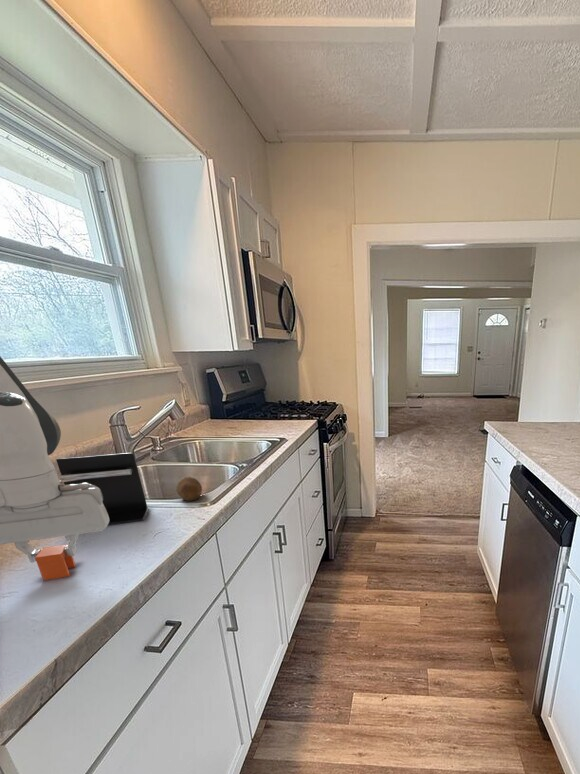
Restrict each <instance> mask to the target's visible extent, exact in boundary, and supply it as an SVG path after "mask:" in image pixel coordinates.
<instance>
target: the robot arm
mask: <svg viewBox="0 0 580 774" xmlns="http://www.w3.org/2000/svg"><path fill="white" fill-rule="evenodd" d="M60 427H61V426H60V425H59V423H58V421H57V420H56V418H55V417H54V416H53V415H52V414H51V413H50V412H49V411H48V410H47V409H46V408H45V407H43V405H42V404H41V403H40V402H38V401H37V399H36V398H35V397H34V396H33V395H32V394H31V392H30V391H29V390H28V389H27V388H26V386H25V385H24V384H23V383H22V382H21V380H20V379H19V377H18V376H16V374H15V373H14V371H13V370H12V369H11V368H10V366H9V365H8V364H7V363H6V361H5V360H4V359H3V358H2V357H1V355H0V545H6V544H7V545H8V544H14V547H15V548H16V549H17V550H18V551H20V552H21V553H23V554H25V555H27V558H28V559H29V562H30V563H37V562H36V560H35V557H36V556H37V555H38V554H39V552H40V551H41V550H42V549H41V548H38V549H35V548H34V547H33V546H32V545H30V544H29V543H30V542H31V541H36V540H43V539H44V540H45V539H52V538H59V537H64V538H65V539H66V541H69V544H68V545H67V544H65V545H66V546H65V548H63V552H64V553H65V557H69V556H73V557H74V556H76V555H77V554H78V550H77V547H76V543H77V541H78V538H79V536H80V534H81V535H82V534H88V533H96V532H102V531H104V530H105V529H106V528H107V527H108V526H109V525H108V523H109V516H108V513H107V511H106V509H105V506H104V504H103V503H102V502H103V496H102V493H101V490H100V489H99V488H98V487H97V486H95V485H90V484H89V483H81V484H69V485H64V484H61V480H60V477H59V475H58V473H57V469H56V467H55V464H54V463H53V461H52V460H51V458H50V457H49V456H50V455H52V454H53V453H54V452H55V450H56V449H57V447H58V446H59V445H60V441H61V436H62V431H61V428H60ZM90 487H94V488H90ZM107 525H108V526H107Z"/></svg>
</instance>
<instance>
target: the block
mask: <svg viewBox="0 0 580 774" xmlns="http://www.w3.org/2000/svg"><path fill="white" fill-rule="evenodd" d="M66 545H69V544H61V545H53V546H46V547H43V548H42V549H41V551H40V552H39V554H38V555H37V556H36V557H35V560H36V562H35V563H36V565H37V568H38V569H39V572H40V575H41V577H42V580H43V581H48V580H54V579H60V578H67V577H70V576H71V573H70V571H69V569H70V568H71V569H72V568H76V567H77V565H76V562H75V559H74V556H69V557H65V553H64V552H63V548H65V546H66Z"/></svg>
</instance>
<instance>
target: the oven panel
mask: <svg viewBox="0 0 580 774" xmlns="http://www.w3.org/2000/svg"><path fill="white" fill-rule="evenodd" d="M55 460H56V463H57V464H56V465H57V466H58V470H59V472H60V475H59V481H60V483H63V485H69V484H81V483H89V484H90V485H95V486H97V487H98V488H99V489H100V490H101V493H102V496H103V502H102V503H103V504H104V506H105V509H106V511H107V513H108V516H109V523H108V525H107V527H108V526H115V525H122V524H123V525H124V524H130V523H137V522H143V521H145V518H146V516H147V514H148V512H149V507H148V504H147V499H146V495H145V492H144V488H143V485H142V480H141V476H140V472H139V468H138V465H137V461H136V456H135V452H121V453H110V454H99V455H87V456H74V457H60V458H56V459H55ZM90 488H94V487H90Z"/></svg>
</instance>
